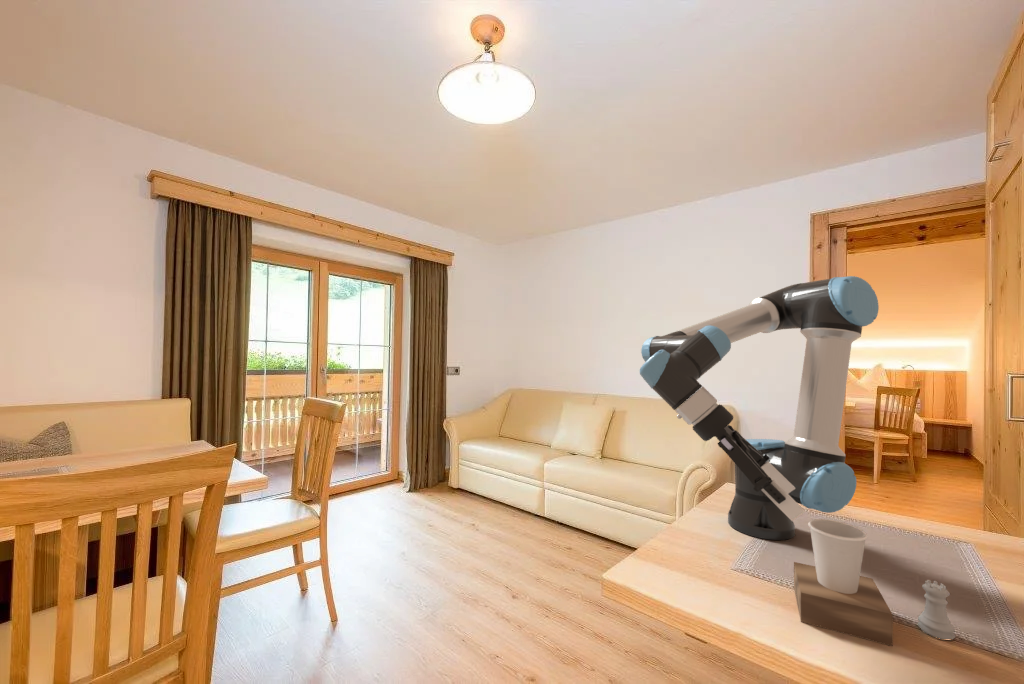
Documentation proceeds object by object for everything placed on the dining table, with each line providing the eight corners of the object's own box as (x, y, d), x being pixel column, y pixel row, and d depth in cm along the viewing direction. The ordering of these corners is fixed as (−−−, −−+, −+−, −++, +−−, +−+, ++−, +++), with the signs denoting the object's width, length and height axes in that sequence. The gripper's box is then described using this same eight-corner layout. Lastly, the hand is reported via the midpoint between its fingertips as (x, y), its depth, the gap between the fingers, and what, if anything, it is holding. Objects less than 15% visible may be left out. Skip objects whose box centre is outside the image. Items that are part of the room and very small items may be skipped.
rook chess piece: (963, 643, 67) (963, 593, 67) (930, 639, 68) (930, 589, 68) (941, 626, 71) (940, 578, 72) (910, 622, 72) (910, 575, 73)
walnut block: (793, 587, 83) (793, 561, 83) (872, 606, 77) (872, 578, 77) (800, 621, 72) (800, 592, 72) (892, 646, 66) (892, 614, 66)
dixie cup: (802, 582, 75) (801, 526, 75) (815, 567, 81) (815, 515, 81) (861, 604, 69) (861, 543, 69) (872, 586, 74) (872, 529, 74)
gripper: (695, 418, 97) (771, 494, 90) (683, 437, 75) (783, 541, 68) (721, 396, 95) (801, 473, 87) (716, 410, 73) (823, 514, 65)
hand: (793, 503), depth 78 cm, fingers open, 13 cm apart
